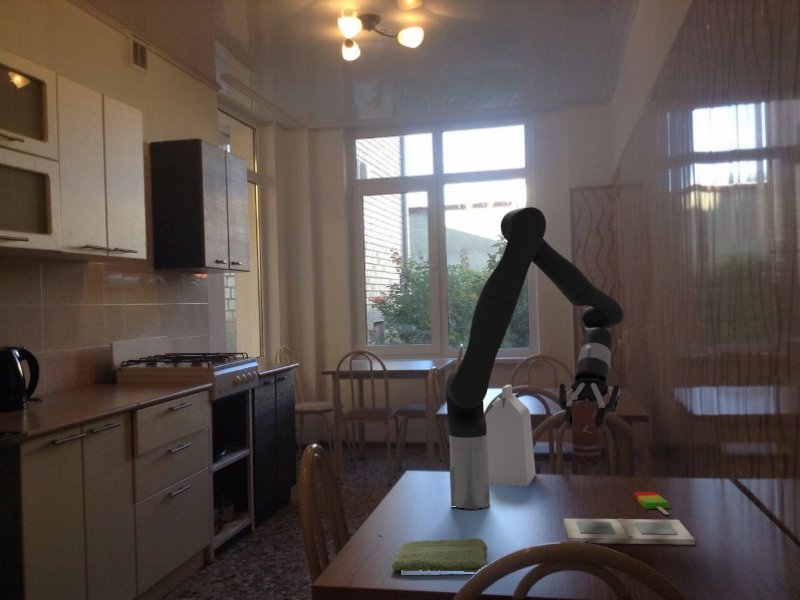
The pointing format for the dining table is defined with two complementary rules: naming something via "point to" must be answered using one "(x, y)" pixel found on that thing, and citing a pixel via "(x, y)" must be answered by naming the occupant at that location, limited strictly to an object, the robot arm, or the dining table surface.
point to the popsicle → (652, 501)
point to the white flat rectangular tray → (628, 531)
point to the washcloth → (442, 555)
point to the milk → (509, 441)
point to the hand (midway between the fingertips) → (584, 423)
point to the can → (585, 431)
